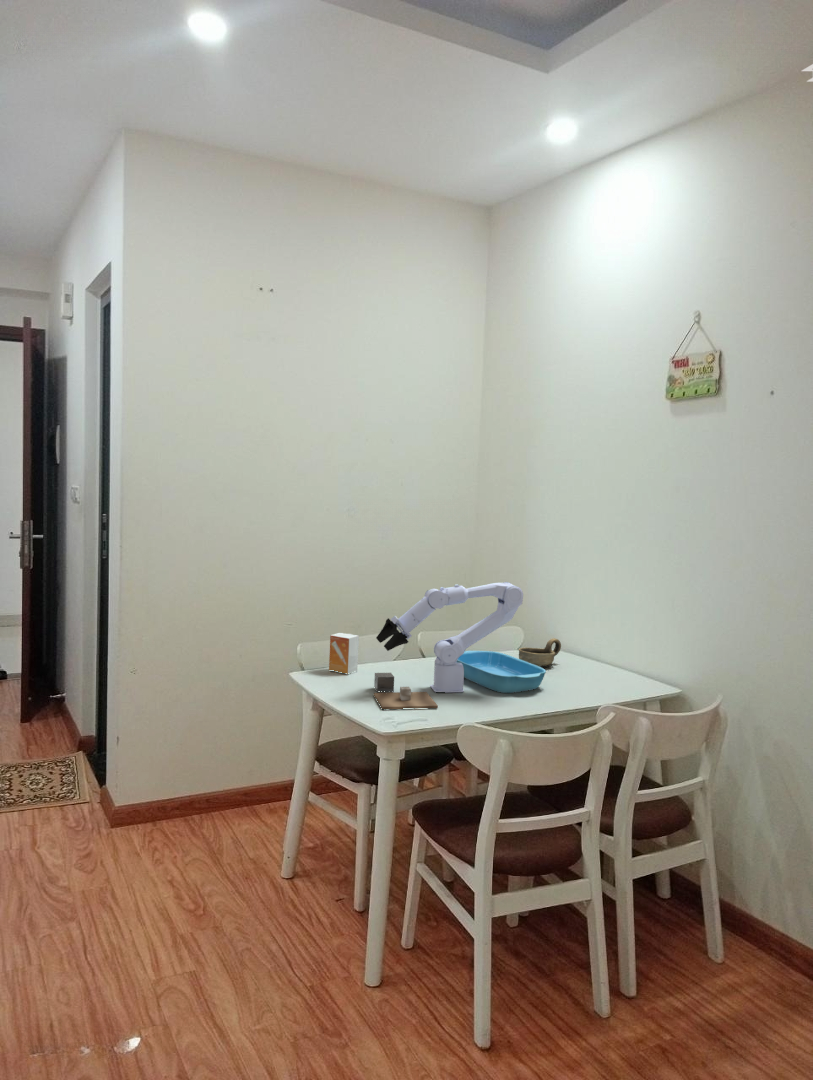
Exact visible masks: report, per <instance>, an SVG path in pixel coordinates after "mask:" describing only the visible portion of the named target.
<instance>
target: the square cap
mask: <svg viewBox="0 0 813 1080" xmlns="http://www.w3.org/2000/svg"><path fill="white" fill-rule="evenodd" d="M373 681H374V683H373V684H374V686H373V688H374V687H375V688H374V690H375V689H376V690H377V692H378V691H380V692H378V693H392V691H393V692H395V676H394V675H393V673H392V672H374V679H373ZM376 690H375V691H376ZM381 691H382V692H381ZM384 691H385V692H384ZM389 691H390V692H389ZM377 692H376V693H377Z"/></svg>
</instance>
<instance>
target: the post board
mask: <svg viewBox="0 0 813 1080" xmlns="http://www.w3.org/2000/svg"><path fill="white" fill-rule="evenodd" d="M374 696H375V697H374ZM373 697H374V699H375V698H376V699H377V701H378V702H377V701H376V702H377V704H378V703H379V704H380V706H381V707H380V706H379V707H380V709H381V708H382V709H403V708H439V705H438V704H437V702H435V700H434V699H433V698H432V697H431V696H430V694H429V693H428V692H427V691H412V689H411V687H410V686H400V687H399V692H397V691H394V692H378V693H377V692H373ZM376 699H375V700H376ZM379 704H378V705H379ZM382 709H381V710H382Z"/></svg>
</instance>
